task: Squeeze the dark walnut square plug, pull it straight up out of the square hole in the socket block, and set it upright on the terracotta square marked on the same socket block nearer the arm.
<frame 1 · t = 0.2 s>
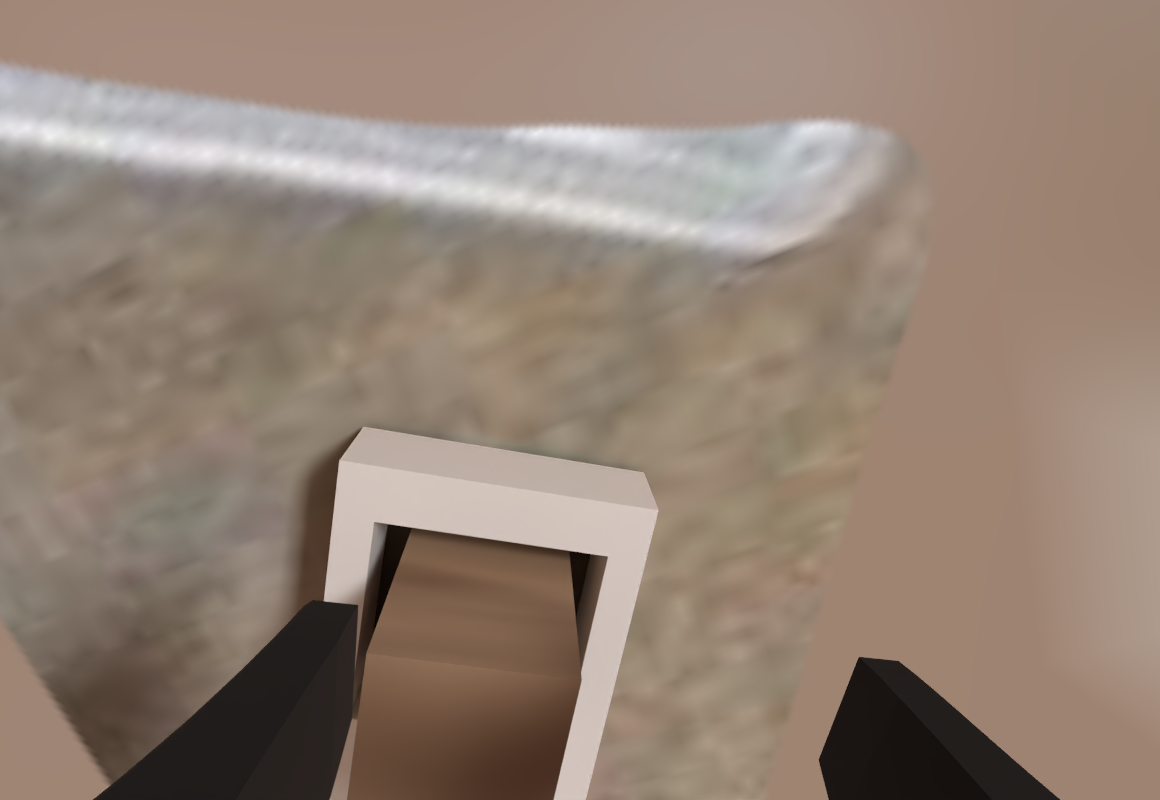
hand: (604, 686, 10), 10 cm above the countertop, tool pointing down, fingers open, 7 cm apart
socket block: (459, 711, 22), on the countertop
plug: (482, 587, 21), resting in socket block
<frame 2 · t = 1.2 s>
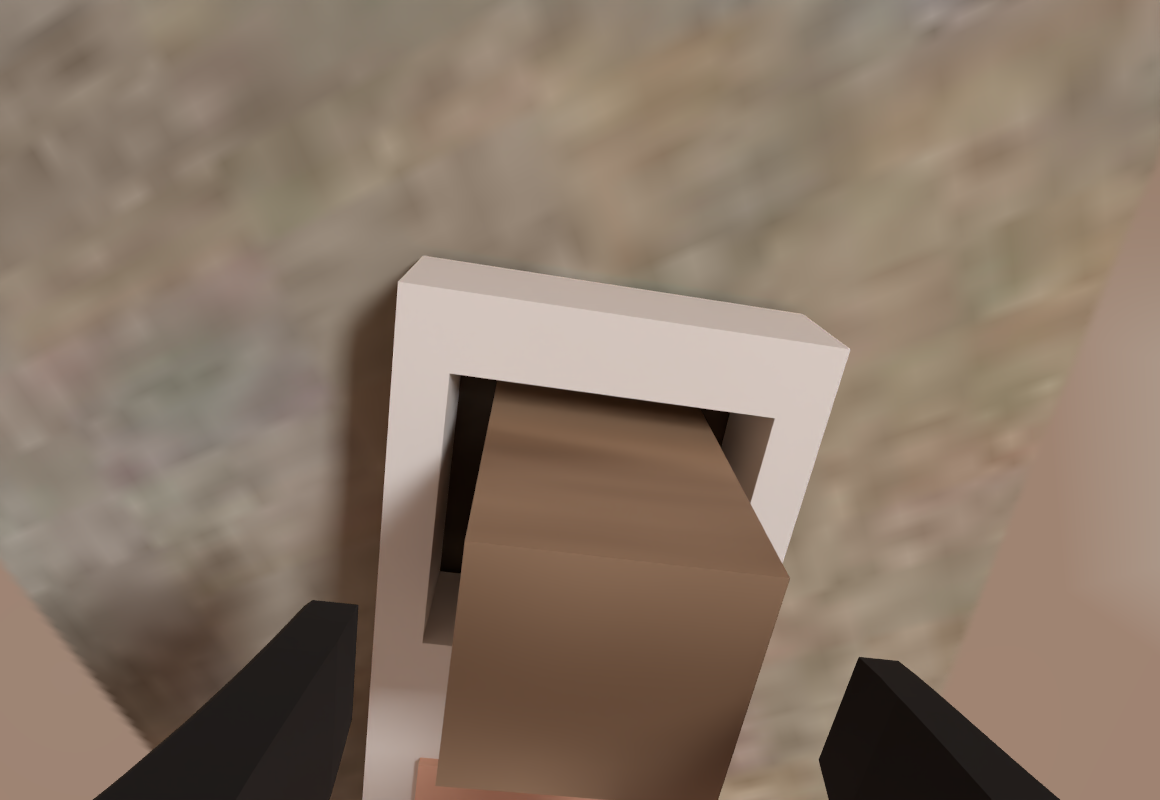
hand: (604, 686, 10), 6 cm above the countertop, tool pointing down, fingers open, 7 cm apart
socket block: (553, 633, 18), on the countertop
plug: (582, 475, 16), resting in socket block
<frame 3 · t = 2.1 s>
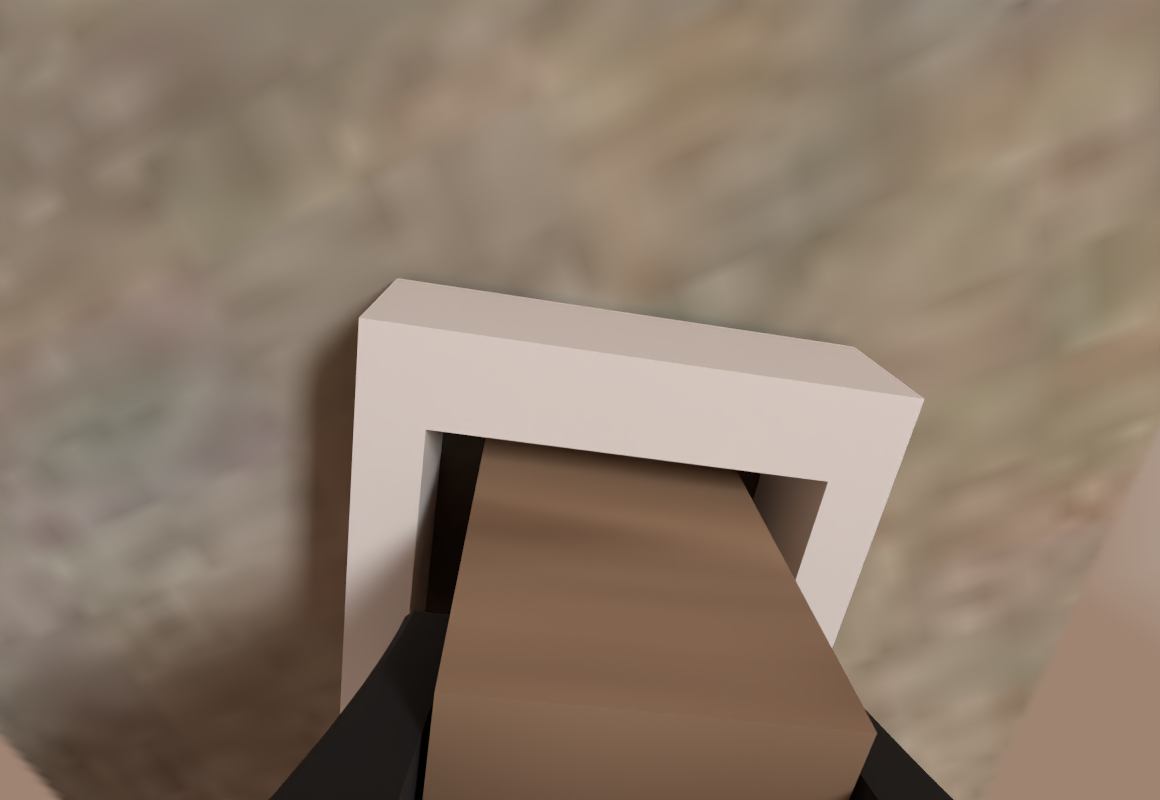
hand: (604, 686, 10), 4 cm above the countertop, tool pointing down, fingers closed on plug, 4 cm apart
socket block: (555, 710, 15), on the countertop
plug: (589, 534, 14), resting in socket block, touching gripper
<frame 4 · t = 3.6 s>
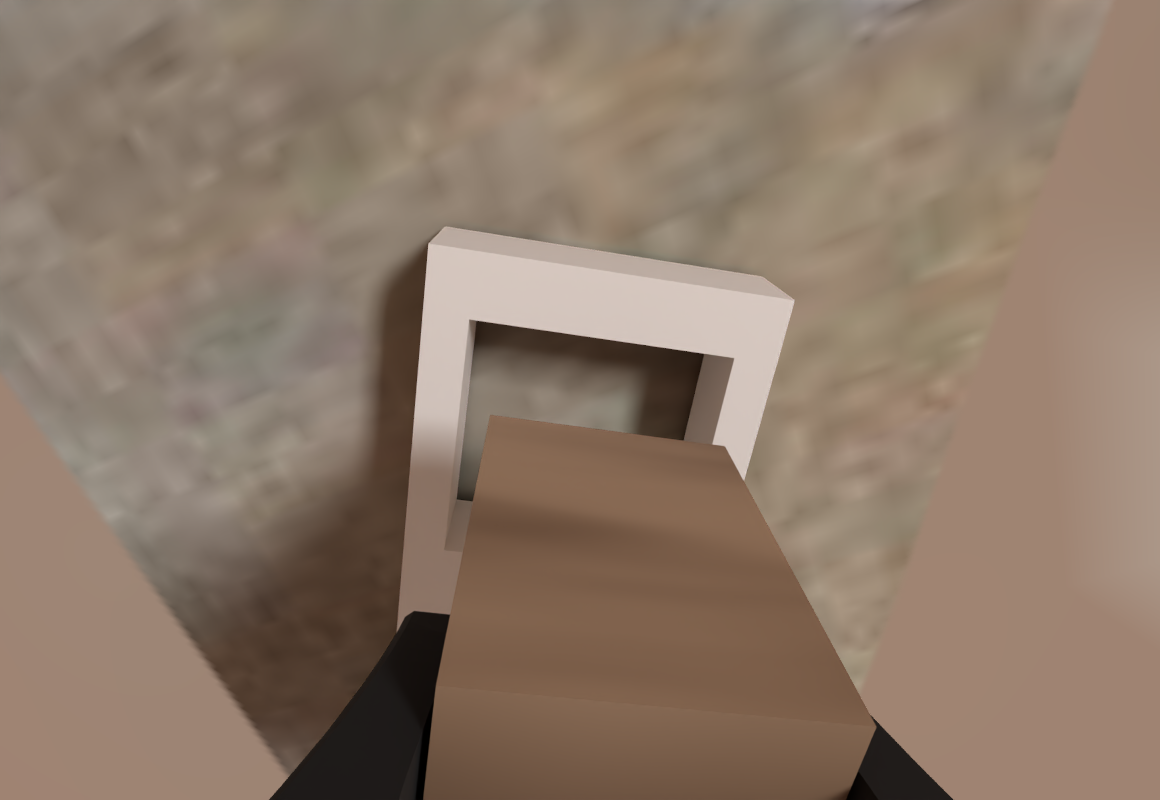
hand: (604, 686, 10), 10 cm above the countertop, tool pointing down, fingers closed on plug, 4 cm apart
socket block: (553, 555, 20), on the countertop
plug: (589, 532, 14), point 6 cm above the countertop, touching gripper
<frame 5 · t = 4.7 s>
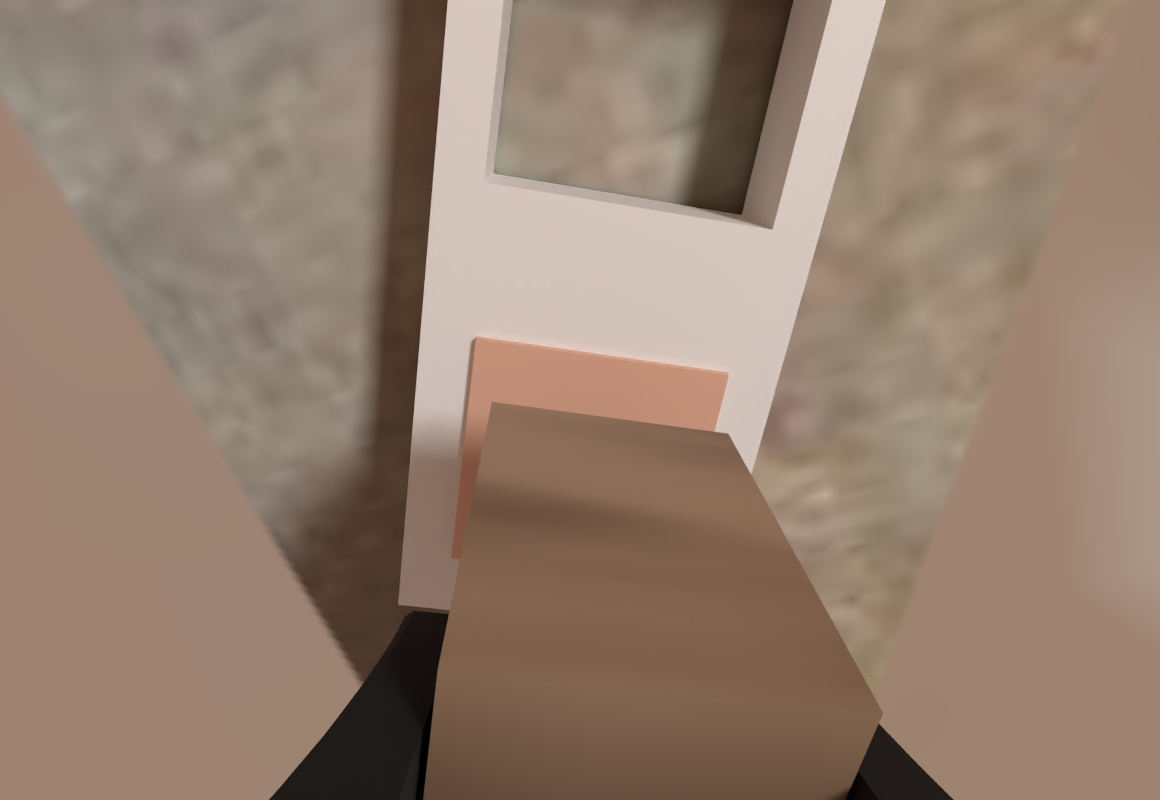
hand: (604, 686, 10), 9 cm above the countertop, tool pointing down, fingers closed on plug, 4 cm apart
socket block: (608, 257, 17), on the countertop
plug: (591, 520, 14), point 5 cm above the countertop, touching gripper
when the fingers open (8 cm above the countertop, at t = 5.4 s): plug moves 1 cm, resting on socket block.
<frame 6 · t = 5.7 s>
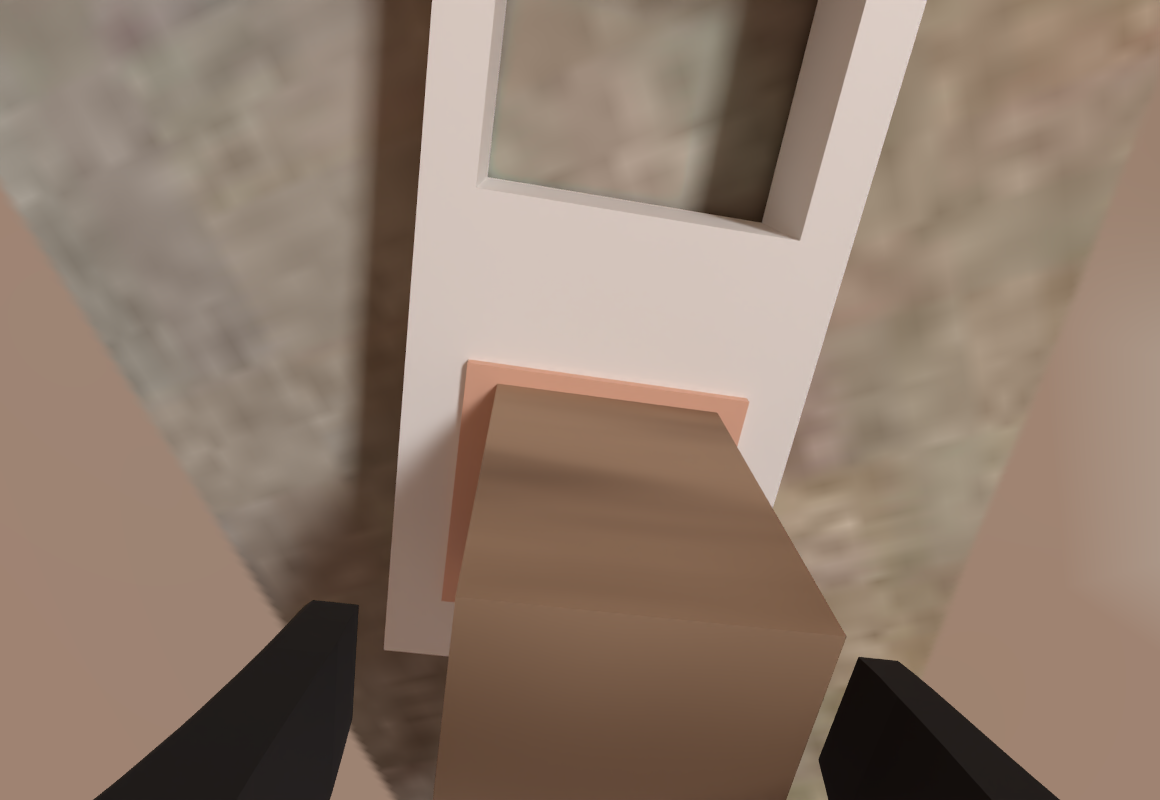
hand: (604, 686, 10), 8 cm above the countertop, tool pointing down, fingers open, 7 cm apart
socket block: (614, 269, 15), on the countertop
plug: (591, 495, 14), point 3 cm above the countertop, touching socket block
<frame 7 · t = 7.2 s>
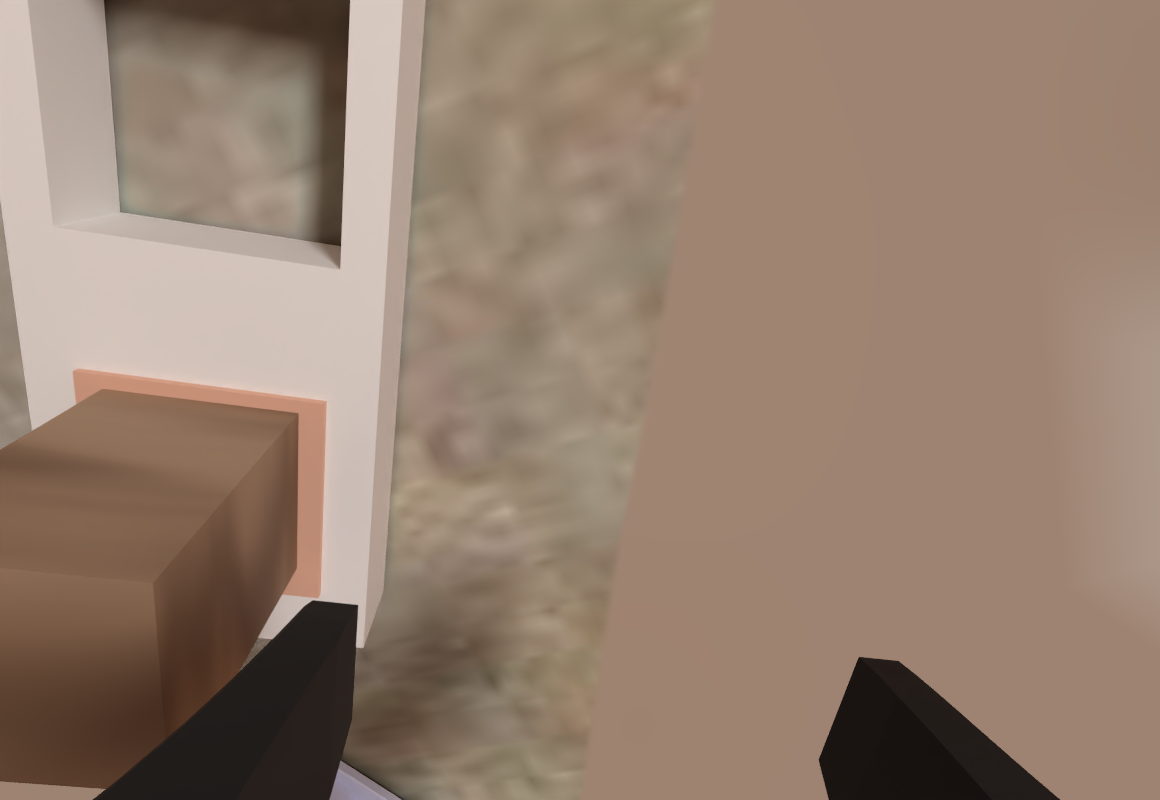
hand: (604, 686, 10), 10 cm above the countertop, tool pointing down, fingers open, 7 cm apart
socket block: (246, 289, 18), on the countertop
plug: (205, 483, 17), point 3 cm above the countertop, touching socket block
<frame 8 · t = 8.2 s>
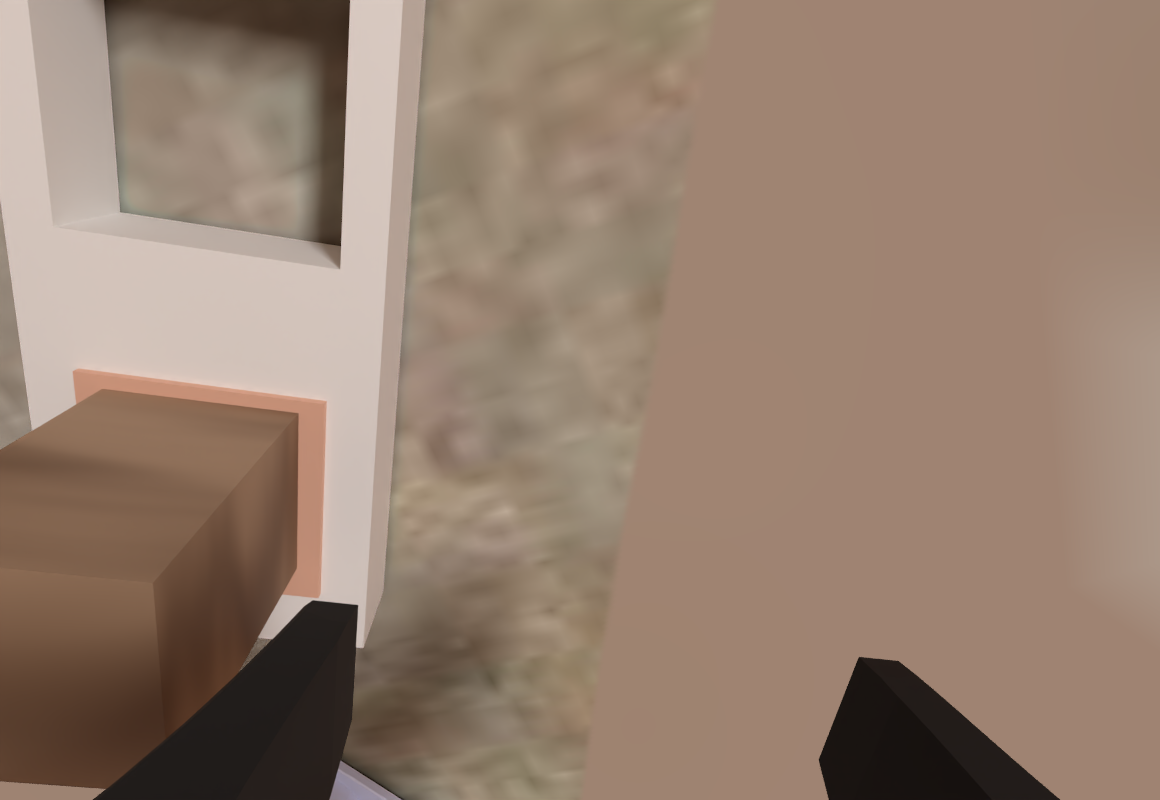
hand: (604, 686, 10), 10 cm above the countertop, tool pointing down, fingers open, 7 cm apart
socket block: (246, 289, 18), on the countertop
plug: (205, 483, 17), point 3 cm above the countertop, touching socket block
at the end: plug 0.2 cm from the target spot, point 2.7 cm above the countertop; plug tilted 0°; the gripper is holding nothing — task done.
